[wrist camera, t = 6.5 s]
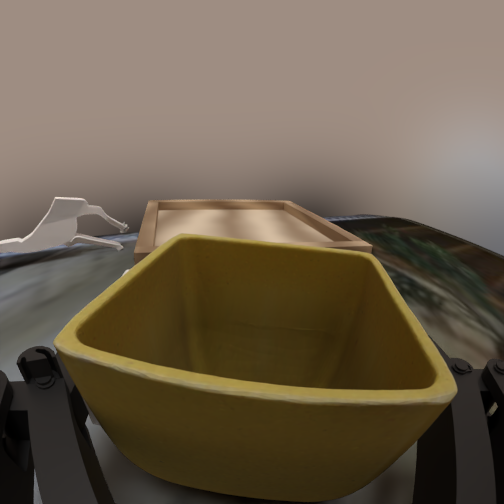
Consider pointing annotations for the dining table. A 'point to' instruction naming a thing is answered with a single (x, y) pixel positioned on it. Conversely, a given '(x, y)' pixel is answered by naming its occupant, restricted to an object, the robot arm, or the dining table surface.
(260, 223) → the plant caddy
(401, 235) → the dining table surface
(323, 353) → the flower pot
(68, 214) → the llama figurine
